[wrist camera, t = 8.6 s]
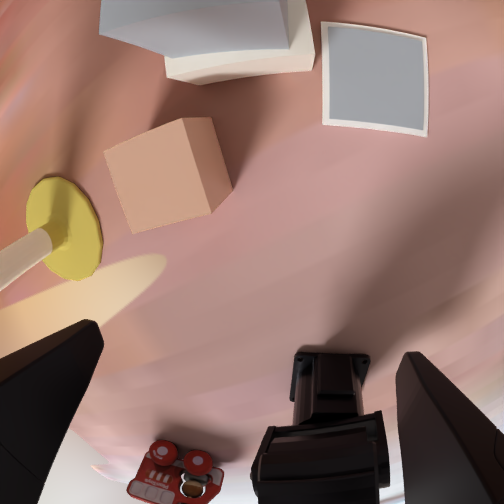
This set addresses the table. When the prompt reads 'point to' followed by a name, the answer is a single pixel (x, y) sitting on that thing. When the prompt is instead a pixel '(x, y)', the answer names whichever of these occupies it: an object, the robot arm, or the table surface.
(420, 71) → the tile
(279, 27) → the grey block
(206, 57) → the cream block
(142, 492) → the toy fire truck
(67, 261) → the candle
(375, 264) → the table surface
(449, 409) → the robot arm
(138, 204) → the terracotta block
